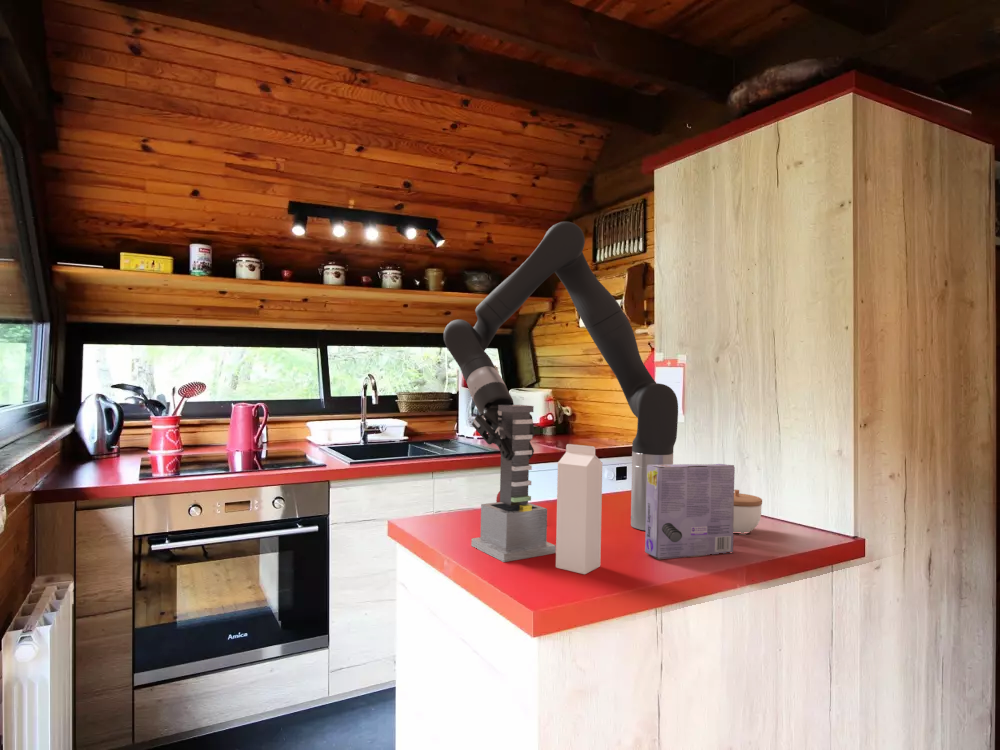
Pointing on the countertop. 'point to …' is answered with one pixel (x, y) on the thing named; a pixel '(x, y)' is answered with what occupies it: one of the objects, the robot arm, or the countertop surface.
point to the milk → (579, 510)
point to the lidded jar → (746, 512)
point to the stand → (513, 531)
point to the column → (516, 454)
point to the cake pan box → (689, 510)
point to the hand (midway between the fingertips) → (520, 456)
